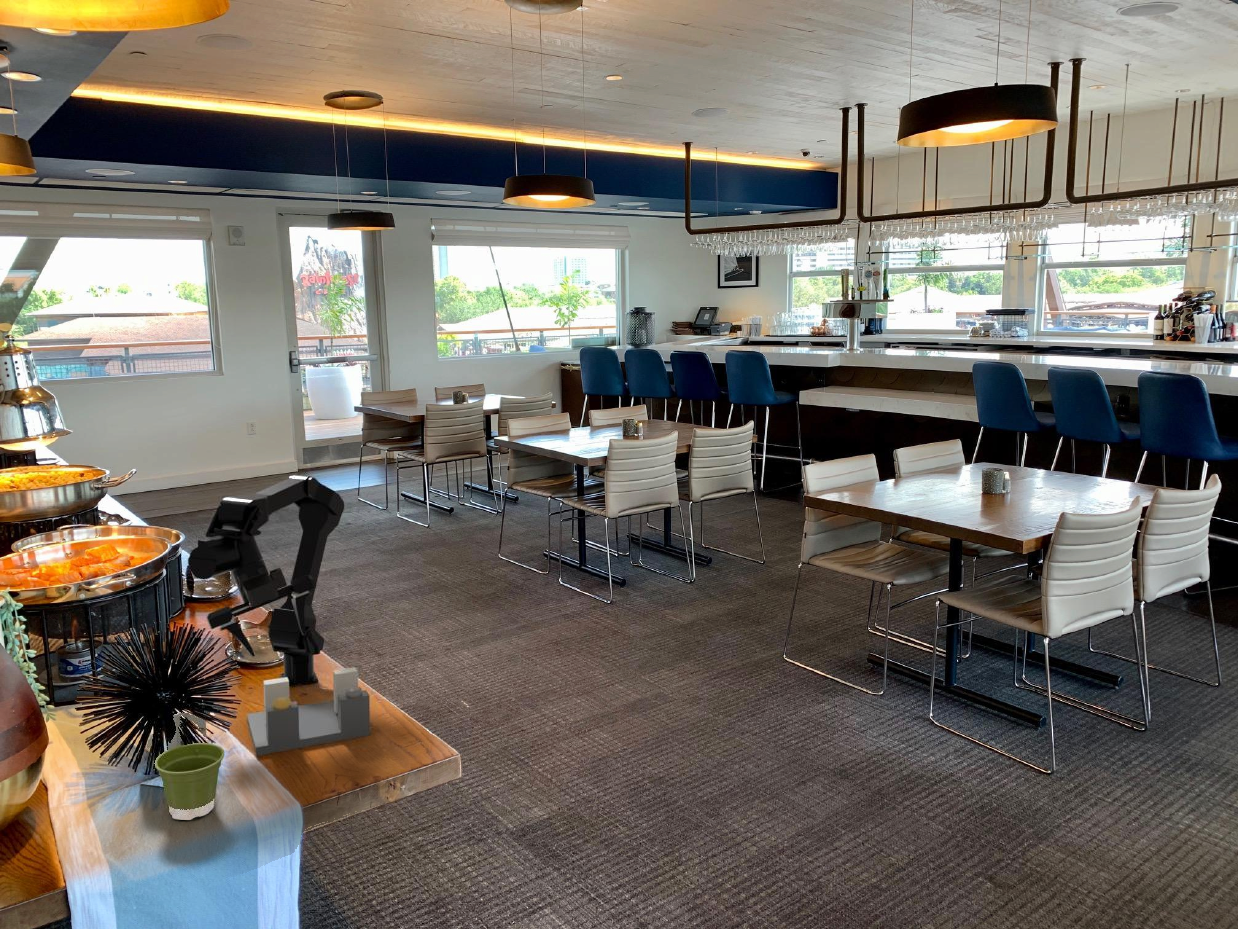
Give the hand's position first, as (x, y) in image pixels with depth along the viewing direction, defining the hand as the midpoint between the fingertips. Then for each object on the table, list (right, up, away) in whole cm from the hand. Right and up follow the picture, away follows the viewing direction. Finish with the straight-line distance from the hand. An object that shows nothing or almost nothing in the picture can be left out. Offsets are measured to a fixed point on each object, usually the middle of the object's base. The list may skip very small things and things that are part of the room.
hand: (279, 645), depth 166 cm
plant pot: (-3, -19, -28) cm, 34 cm away
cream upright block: (+11, -12, +3) cm, 17 cm away
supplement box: (-10, -18, -19) cm, 28 cm away
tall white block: (+1, -13, -3) cm, 13 cm away
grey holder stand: (+5, -15, -1) cm, 16 cm away
